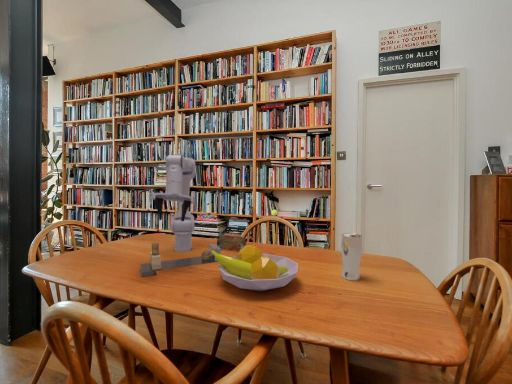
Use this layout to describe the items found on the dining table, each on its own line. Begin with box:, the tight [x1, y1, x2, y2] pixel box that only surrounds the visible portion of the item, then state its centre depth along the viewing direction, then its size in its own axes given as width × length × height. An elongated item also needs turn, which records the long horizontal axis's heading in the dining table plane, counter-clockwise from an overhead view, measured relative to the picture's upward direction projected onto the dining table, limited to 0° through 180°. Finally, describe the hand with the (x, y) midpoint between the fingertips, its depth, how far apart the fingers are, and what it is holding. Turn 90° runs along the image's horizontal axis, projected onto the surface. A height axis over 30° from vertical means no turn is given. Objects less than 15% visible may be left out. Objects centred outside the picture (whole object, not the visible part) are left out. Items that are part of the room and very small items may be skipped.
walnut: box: [201, 249, 211, 261], centre depth 109 cm, size 4×4×4 cm
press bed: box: [139, 243, 222, 278], centre depth 105 cm, size 10×30×6 cm, turn 116°
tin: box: [216, 234, 248, 253], centre depth 123 cm, size 15×3×8 cm, turn 62°
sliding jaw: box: [149, 242, 162, 270], centre depth 100 cm, size 8×3×8 cm, turn 26°
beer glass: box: [340, 232, 363, 281], centre depth 94 cm, size 7×7×15 cm
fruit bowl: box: [211, 244, 299, 292], centre depth 90 cm, size 28×27×11 cm
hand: (171, 220), depth 95 cm, fingers open, 7 cm apart
